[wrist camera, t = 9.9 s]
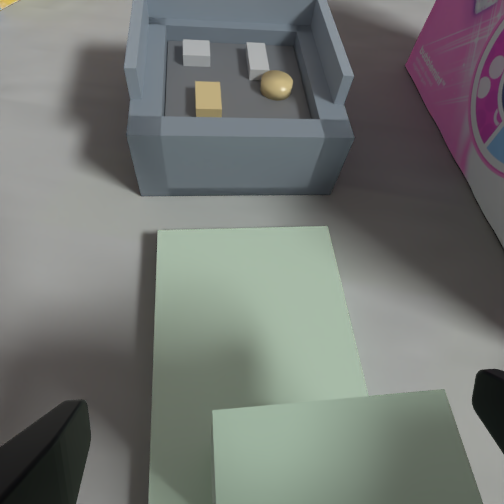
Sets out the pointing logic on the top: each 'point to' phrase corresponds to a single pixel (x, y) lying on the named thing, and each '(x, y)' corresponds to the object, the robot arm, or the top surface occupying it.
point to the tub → (236, 97)
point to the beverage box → (6, 3)
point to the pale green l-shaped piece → (281, 384)
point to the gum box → (467, 92)
